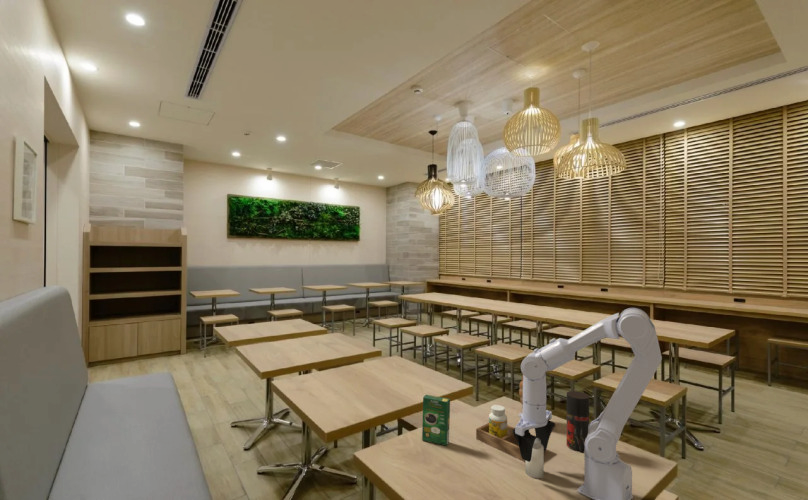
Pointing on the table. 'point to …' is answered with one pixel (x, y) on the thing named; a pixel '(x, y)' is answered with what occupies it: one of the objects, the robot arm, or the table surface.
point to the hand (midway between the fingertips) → (534, 454)
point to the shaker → (536, 461)
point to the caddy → (500, 440)
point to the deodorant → (577, 420)
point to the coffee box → (436, 419)
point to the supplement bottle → (498, 421)
